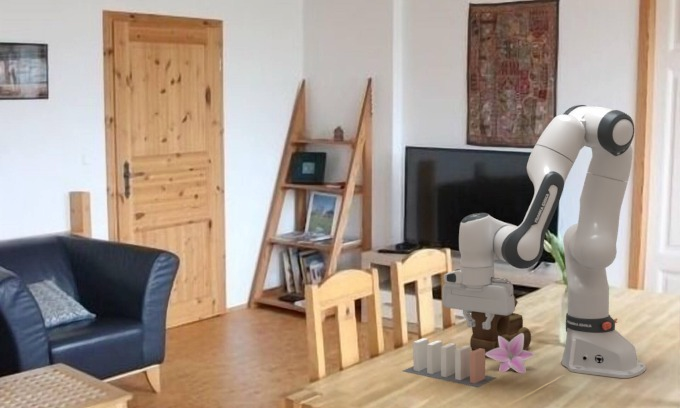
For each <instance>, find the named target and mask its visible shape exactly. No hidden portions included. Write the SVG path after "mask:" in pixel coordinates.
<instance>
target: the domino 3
mask: <svg viewBox="0 0 680 408" xmlns="http://www.w3.org/2000/svg"><path fill="white" fill-rule="evenodd" d="M456 349H457V343H453V342H450V343H447V344H445V345H442V347H441V376H443V377H448V376H450V375H452V374H454V373H455V350H456Z"/></svg>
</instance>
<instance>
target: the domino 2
mask: <svg viewBox="0 0 680 408" xmlns="http://www.w3.org/2000/svg"><path fill="white" fill-rule="evenodd" d="M442 346H443V341H441V340H438V339H437V340H435V341H432V342H429V344H427V373H429V374H434V373H436V372H438V371H441V347H442Z"/></svg>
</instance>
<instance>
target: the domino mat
mask: <svg viewBox="0 0 680 408" xmlns="http://www.w3.org/2000/svg"><path fill="white" fill-rule="evenodd" d="M402 372H404V373H408V374H413V375H417V376H422V377H426V378H427V377H428V378H432V379H436V380H441V381H444V382H445V381H446V382H451V383H455V384H459V385H464V386H469V387H475V388H479V387H482V386H483V385H486V384H487V383H489V382H491V381H493V380H496V379H497V376H496V377H495V376H491V375H490V376H489V375H486V374H485V379H483V380H481V381H479V382H477V383H471V382H470V376H469V377H466V378H464V379H462V380H457V379H455V373H454V374H452V375H450V376H448V377H443V376H441V371H438V372H436V373H434V374H429V373H427V368H425V369H423V370H420V371H415V370H414V365H413V366H411V367H408V368H406V369H403V370H402Z"/></svg>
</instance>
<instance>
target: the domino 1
mask: <svg viewBox="0 0 680 408" xmlns="http://www.w3.org/2000/svg"><path fill="white" fill-rule="evenodd" d="M412 343H413V344H412V346H413V347H412V349H413V354H412V355H413V356H412V357H413V366H414V370H415V371H420V370H423V369H425V368H427V344H429V343H430V342H429V338H426V337H422V338H420V339H418V340H415V341H413V342H412Z"/></svg>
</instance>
